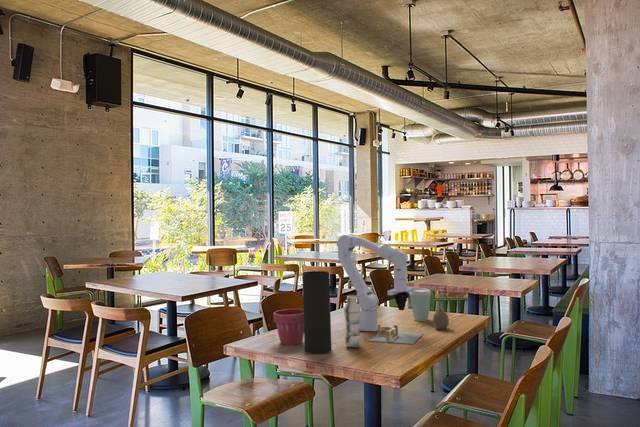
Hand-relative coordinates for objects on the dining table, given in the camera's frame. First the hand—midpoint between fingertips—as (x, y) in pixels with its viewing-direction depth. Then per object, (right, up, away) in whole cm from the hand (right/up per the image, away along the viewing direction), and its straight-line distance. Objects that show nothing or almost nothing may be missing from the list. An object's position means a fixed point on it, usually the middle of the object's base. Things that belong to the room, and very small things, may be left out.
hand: (401, 309), depth 234 cm
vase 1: (-36, -11, -29) cm, 47 cm away
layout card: (-4, -10, -11) cm, 15 cm away
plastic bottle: (-23, -10, -25) cm, 35 cm away
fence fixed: (-7, -10, -8) cm, 14 cm away
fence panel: (-6, -9, -14) cm, 18 cm away
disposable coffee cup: (+13, -9, +24) cm, 29 cm away
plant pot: (-47, -11, -14) cm, 51 cm away
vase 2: (+18, -9, +3) cm, 20 cm away
